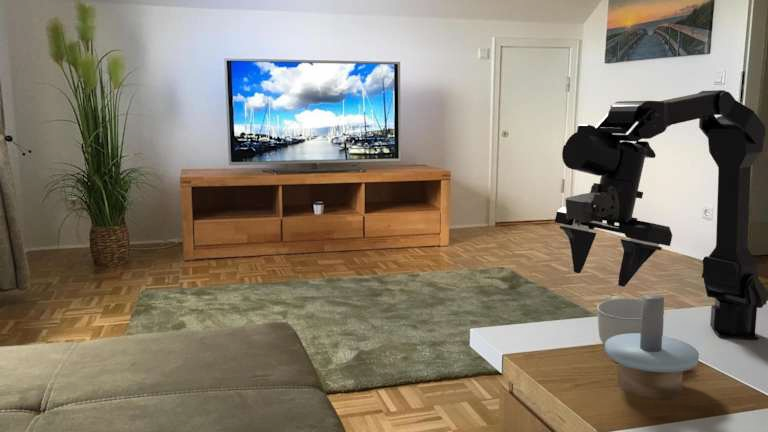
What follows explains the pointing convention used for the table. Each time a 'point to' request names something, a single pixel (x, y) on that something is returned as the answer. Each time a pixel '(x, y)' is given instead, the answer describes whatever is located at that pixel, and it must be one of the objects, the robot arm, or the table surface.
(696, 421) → the table surface
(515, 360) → the table surface
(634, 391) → the stone
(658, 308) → the lid
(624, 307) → the teacup
